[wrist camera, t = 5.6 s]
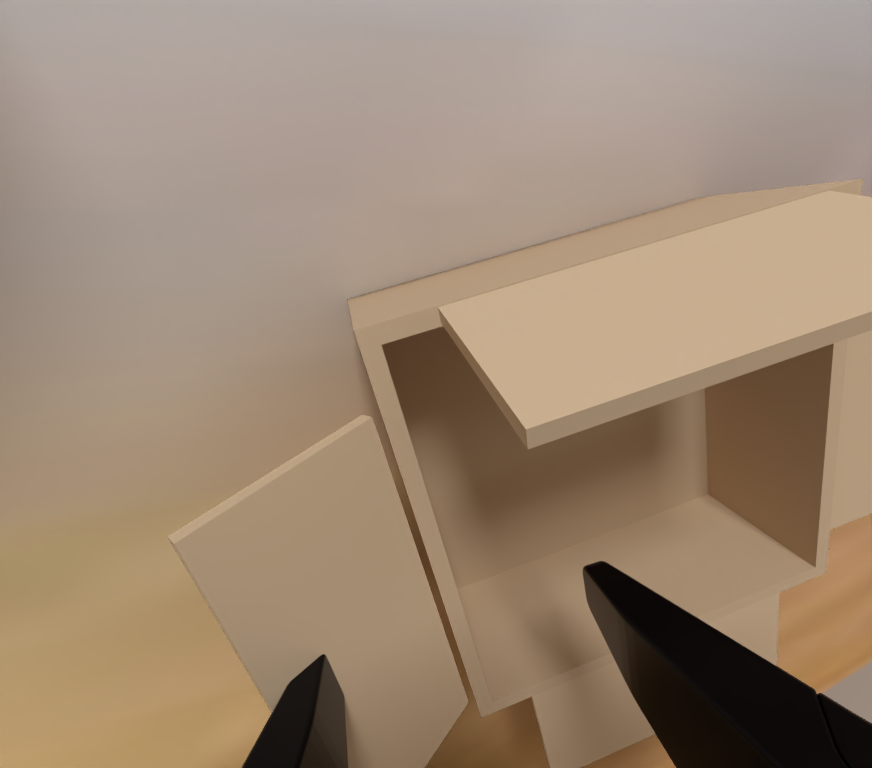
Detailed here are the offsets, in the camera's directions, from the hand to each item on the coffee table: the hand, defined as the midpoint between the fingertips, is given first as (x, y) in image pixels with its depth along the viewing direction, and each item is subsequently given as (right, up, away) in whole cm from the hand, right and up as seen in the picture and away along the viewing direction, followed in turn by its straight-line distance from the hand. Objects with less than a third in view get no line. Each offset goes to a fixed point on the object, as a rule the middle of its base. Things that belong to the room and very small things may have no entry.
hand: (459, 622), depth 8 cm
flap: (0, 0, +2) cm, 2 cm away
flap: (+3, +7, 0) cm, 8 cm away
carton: (+6, +2, +7) cm, 10 cm away
